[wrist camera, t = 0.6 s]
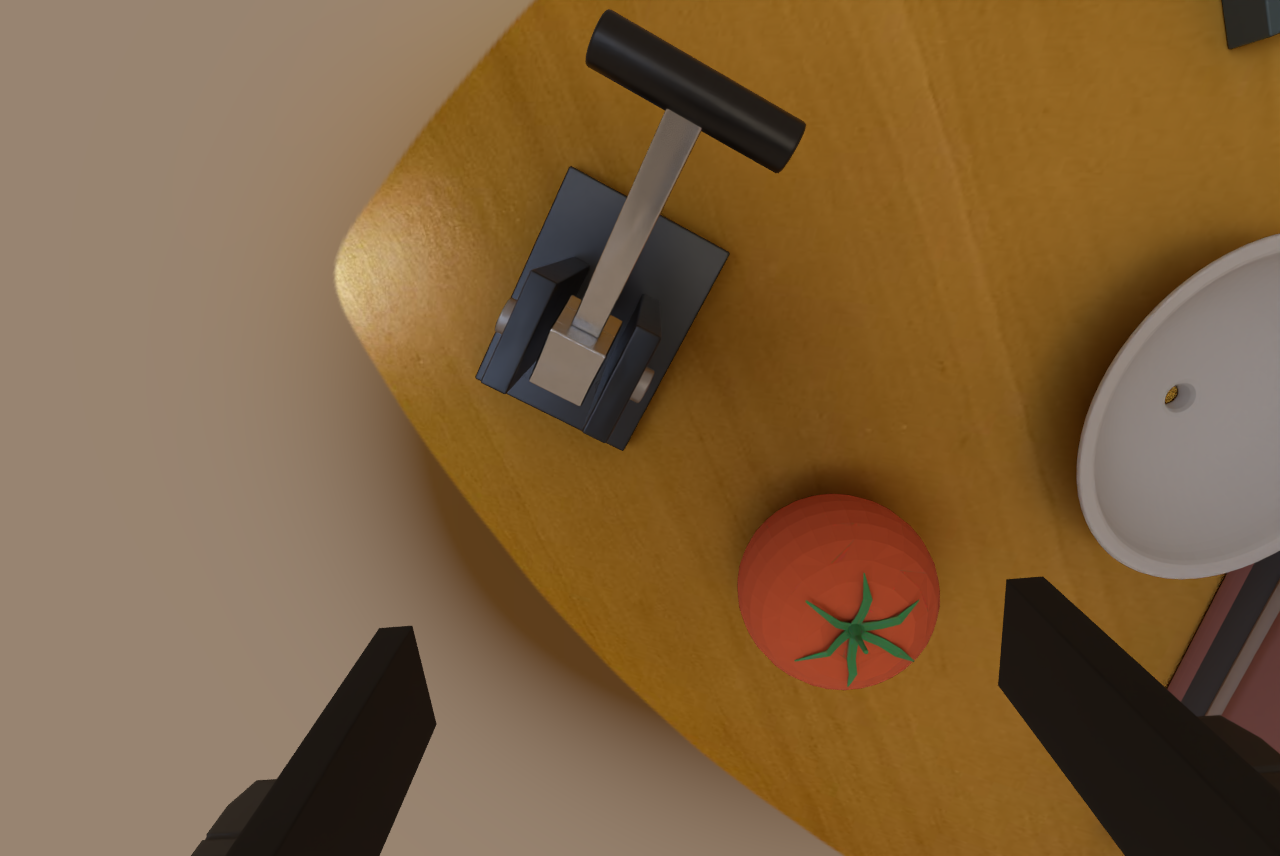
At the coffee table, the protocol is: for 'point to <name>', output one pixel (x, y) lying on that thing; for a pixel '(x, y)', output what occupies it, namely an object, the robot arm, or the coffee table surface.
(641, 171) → the lever
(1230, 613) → the toaster
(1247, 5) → the control block
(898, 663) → the tomato
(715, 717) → the coffee table surface
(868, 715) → the coffee table surface
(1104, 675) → the robot arm
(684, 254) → the bracket
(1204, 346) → the dish
